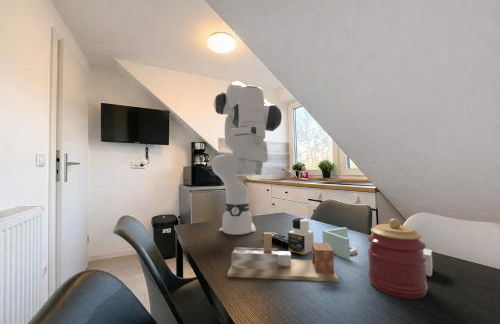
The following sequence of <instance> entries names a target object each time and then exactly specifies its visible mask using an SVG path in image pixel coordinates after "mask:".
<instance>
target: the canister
mask: <svg viewBox="0 0 500 324" xmlns="http://www.w3.org/2000/svg"><path fill="white" fill-rule="evenodd" d="M370 232H371V234H370V235H368V236H367V240H368V242H369V247H368V249H367V251H368V278H369V282H370V284H371V285H372V287H374V288H375V289H377V290H378V291H380V292H382V293H385V294H387V295H389V296H392V297H397V298H401V299H411V300H413V299H414V300H415V299H421V298H424V297H425V296H426V295H427V291H428V282H427V275H426V257H425V256H424V252H423V250H424V249H427V248H426V247H427V245H426V243H425V242H423V241H422V240H421V238H422V234H421V233H420V232H418V231H416V230H415V229H414V228H413V227H409V226H406V225H403V224H401V222H400V220H399V219H398V218H391V219H389V221H388V223H378V224H377V225H376V226H373V227H371V228H370Z"/></svg>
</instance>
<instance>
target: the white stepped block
mask: <svg viewBox="0 0 500 324" xmlns="http://www.w3.org/2000/svg"><path fill="white" fill-rule="evenodd" d="M272 240H273V239H272V232H269V231H268V232H267V231H266V232H263V248H264V251H259V250H234V249H233V251H232V252H234V253H264V254H278V266H291V259H292V254H291V251H289V250H286V251H285V250H283V251H282V250H277V251H272V249H273V248H272V246H273V245H272V243H273V242H272Z"/></svg>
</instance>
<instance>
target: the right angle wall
mask: <svg viewBox="0 0 500 324" xmlns="http://www.w3.org/2000/svg"><path fill="white" fill-rule="evenodd" d="M322 243H328V244H329V245H330V246H331V248H332V249H333V251H334V255H335V254H336V255H335V256H338V257H340V258H342V259H344V260H347V261H348V260H350V256H356V254H357V249H356V247H354V246H351V245H350V238H348V227H338V228H332V229H326V230H322Z"/></svg>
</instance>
